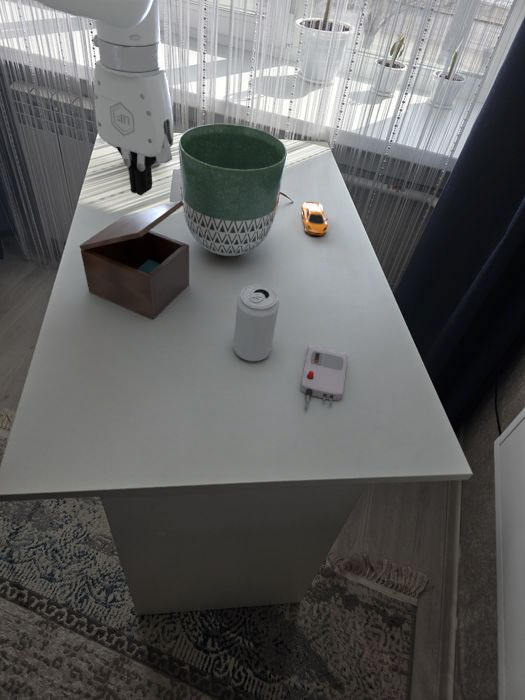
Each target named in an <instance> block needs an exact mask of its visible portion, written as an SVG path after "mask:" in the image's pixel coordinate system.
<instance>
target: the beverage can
mask: <svg viewBox="0 0 525 700" xmlns="http://www.w3.org/2000/svg"><path fill="white" fill-rule="evenodd" d="M278 298H279V297H278V294H277V292H276V291H275V290H274V289H273V288H272V287H270V286H268V285H264V284H260V283H254V284H249V285H246V286H245V287H244V288H242V289H241V291H240V294H239V295H238V297H237V302H236V310H235V311H236V313H235V322H234V332H233V342H232V343H233V344H232V347H233V351H234V353H235V354H236V355H237V356H238V357H239V358H241V359H243V360H245V361H248V362H259V361H262V360H265V359H266V358H268V357H269V355H270V354H271V352H272V348H273V347H272V346H273V341H274V334H275V329H276V325H277V319H278V312H279V308H280V302H279V299H278Z"/></svg>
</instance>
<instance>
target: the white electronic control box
mask: <svg viewBox="0 0 525 700" xmlns="http://www.w3.org/2000/svg"><path fill="white" fill-rule="evenodd" d="M347 364H348V353H347V352H344V351H340V350H336V349H331V348H328V347H323V346H319V345H313V344H309V345H307V351H306V356H305V361H304V368H303V372H302V376H301V377H302V378H301V382H300V387H299V390H300V391H301V393H304V394H305V396H306V397H305V406H304V409H305V410H308V407H309V406H308V405H309V403H310V398H311V397H316V398H319V399H322V400H323V402H325V401H326V400H329V406H332V402H333V401H340V400H342V397H343V395H344V393H345V392H344V391H345V390H344V389H345V382H346V372H347Z"/></svg>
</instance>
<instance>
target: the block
mask: <svg viewBox="0 0 525 700" xmlns="http://www.w3.org/2000/svg"><path fill="white" fill-rule="evenodd" d="M159 265H160V264H159V263H157V262H154V261H152V260H147V261H146V262H145V263H144V264H143V265H141V266H140V267H139V268H138V269H136V270H138V271H141V272H143V273H146V274H148V275H149V274H150V273H151V272H152V271H153V270H155V269H156V268H157V267H158V266H159Z"/></svg>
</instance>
